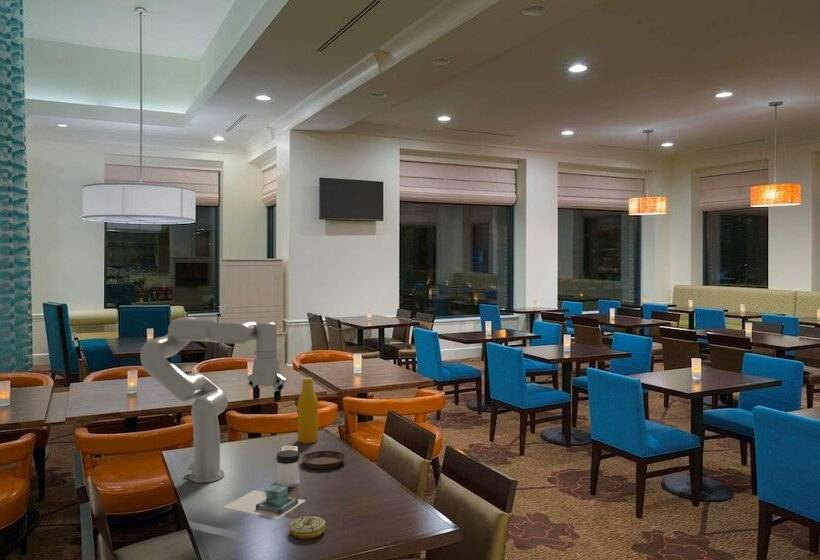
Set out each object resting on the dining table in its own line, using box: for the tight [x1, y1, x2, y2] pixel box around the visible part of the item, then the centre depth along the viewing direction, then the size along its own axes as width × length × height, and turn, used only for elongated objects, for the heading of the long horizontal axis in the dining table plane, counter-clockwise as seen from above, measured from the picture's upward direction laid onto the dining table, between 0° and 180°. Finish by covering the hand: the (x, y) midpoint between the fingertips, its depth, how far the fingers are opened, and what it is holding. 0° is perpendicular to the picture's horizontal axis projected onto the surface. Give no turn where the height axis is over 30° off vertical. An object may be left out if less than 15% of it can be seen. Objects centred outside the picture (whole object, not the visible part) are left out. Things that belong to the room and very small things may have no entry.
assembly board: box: [222, 489, 307, 520], centre depth 198 cm, size 22×16×3 cm
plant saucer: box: [301, 450, 346, 470], centre depth 243 cm, size 18×18×3 cm
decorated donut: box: [288, 515, 327, 540], centre depth 181 cm, size 10×11×4 cm
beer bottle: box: [297, 377, 319, 444], centre depth 273 cm, size 9×9×29 cm
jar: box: [275, 449, 300, 487], centre depth 218 cm, size 9×8×12 cm
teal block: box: [265, 484, 289, 508], centre depth 196 cm, size 5×5×6 cm
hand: (266, 399), depth 224 cm, fingers open, 9 cm apart
